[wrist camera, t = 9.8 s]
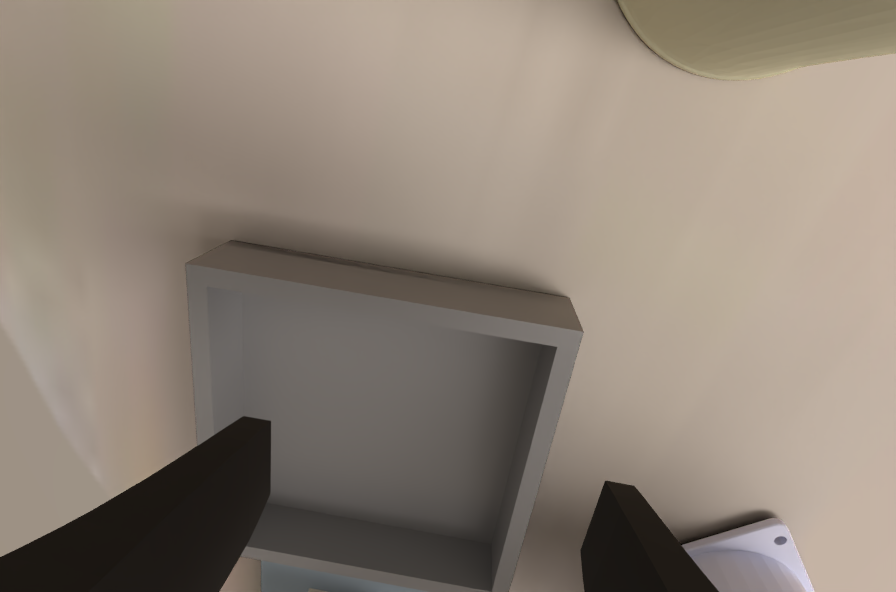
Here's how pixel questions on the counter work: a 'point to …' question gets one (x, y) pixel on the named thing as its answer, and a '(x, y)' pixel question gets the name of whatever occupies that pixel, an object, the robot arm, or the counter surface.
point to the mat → (317, 581)
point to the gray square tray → (383, 409)
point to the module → (315, 590)
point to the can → (761, 33)
